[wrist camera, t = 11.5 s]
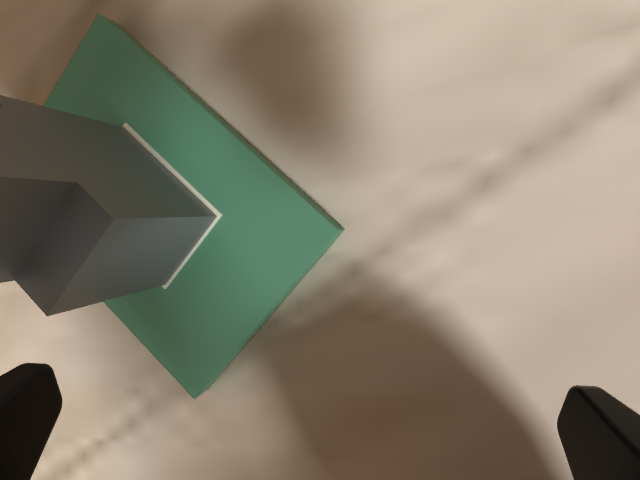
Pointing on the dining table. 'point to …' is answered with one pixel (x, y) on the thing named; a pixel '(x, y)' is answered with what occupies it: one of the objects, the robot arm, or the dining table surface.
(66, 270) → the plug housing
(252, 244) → the board
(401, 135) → the dining table surface
